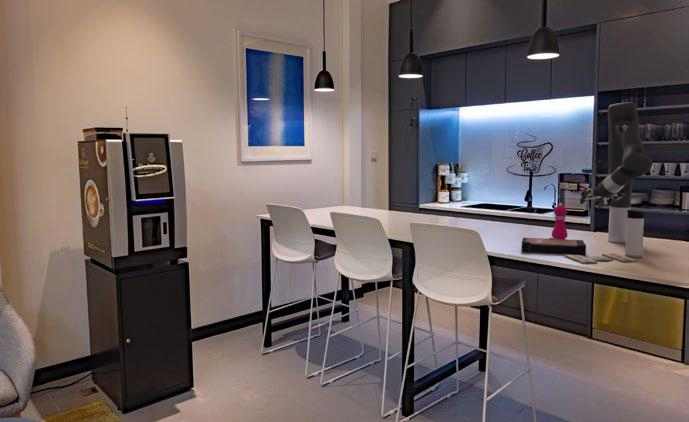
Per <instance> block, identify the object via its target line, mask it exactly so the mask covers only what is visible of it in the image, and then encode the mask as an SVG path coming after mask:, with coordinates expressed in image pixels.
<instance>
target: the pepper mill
mask: <svg viewBox="0 0 689 422" xmlns="http://www.w3.org/2000/svg"><path fill="white" fill-rule="evenodd" d="M553 213H554V220H555V224H554V227H553V229H552V231H551V238H556V239H567V237H568V231H567V228H566V226H565V221H566V218H567V216H566V215H567V213H568V209H567V208H566V207H565V206H564V205H563V202H559V203H558V205H557V206H555V207H554V209H553Z"/></svg>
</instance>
